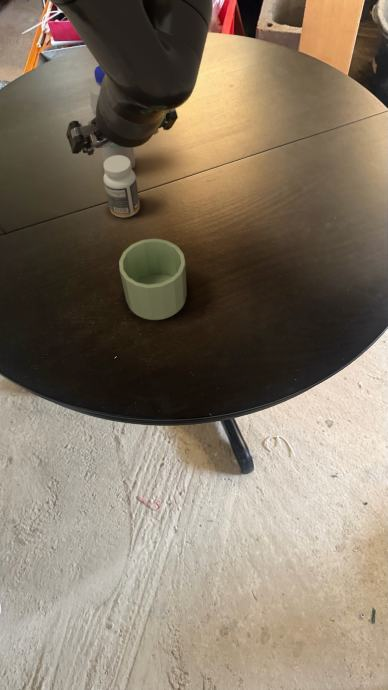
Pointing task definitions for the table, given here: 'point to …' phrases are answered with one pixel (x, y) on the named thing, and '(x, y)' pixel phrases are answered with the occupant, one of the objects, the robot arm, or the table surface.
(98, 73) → the bottle
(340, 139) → the table surface
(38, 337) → the table surface
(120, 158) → the pill bottle
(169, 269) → the green cup
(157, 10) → the robot arm
